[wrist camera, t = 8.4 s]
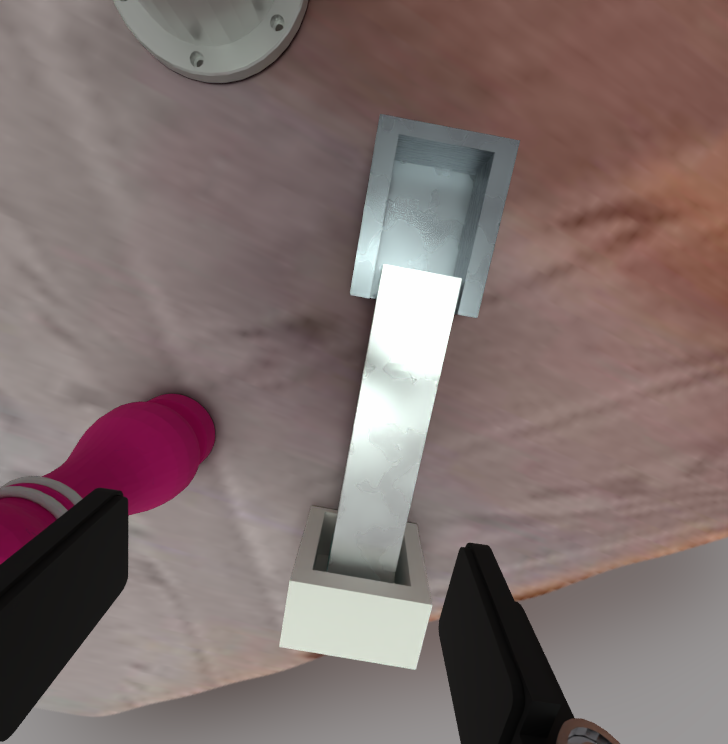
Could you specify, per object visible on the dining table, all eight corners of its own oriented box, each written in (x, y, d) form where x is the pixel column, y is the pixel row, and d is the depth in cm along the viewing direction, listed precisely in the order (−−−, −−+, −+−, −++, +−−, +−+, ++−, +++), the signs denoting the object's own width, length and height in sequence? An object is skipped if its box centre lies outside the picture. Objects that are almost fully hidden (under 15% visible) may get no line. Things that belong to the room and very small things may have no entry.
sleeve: (378, 149, 25) (379, 113, 20) (491, 170, 25) (519, 140, 20) (353, 294, 27) (349, 294, 22) (458, 313, 27) (477, 318, 22)
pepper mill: (240, 440, 30) (-17, 725, 10) (174, 488, 31) (-177, 832, 11) (180, 369, 28) (-243, 532, 9) (113, 421, 29) (-397, 671, 10)
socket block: (311, 505, 31) (289, 580, 23) (416, 524, 31) (432, 604, 23) (302, 557, 32) (279, 646, 24) (404, 574, 32) (415, 669, 24)
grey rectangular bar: (380, 269, 26) (382, 263, 21) (445, 281, 26) (463, 278, 21) (329, 554, 30) (320, 605, 25) (383, 563, 30) (386, 616, 26)
